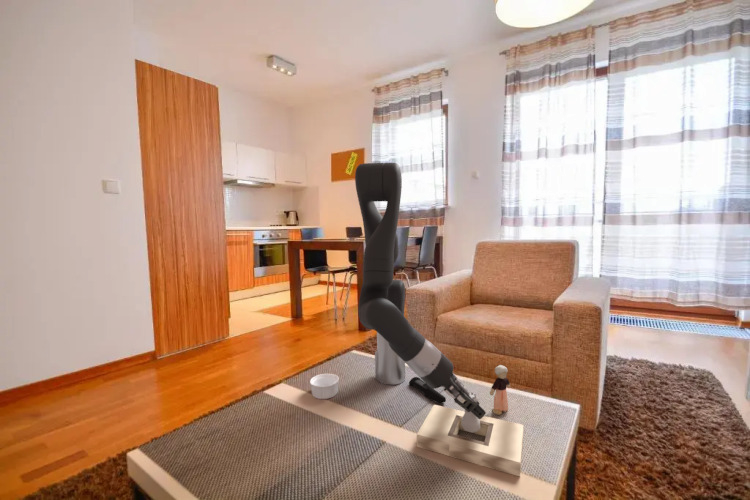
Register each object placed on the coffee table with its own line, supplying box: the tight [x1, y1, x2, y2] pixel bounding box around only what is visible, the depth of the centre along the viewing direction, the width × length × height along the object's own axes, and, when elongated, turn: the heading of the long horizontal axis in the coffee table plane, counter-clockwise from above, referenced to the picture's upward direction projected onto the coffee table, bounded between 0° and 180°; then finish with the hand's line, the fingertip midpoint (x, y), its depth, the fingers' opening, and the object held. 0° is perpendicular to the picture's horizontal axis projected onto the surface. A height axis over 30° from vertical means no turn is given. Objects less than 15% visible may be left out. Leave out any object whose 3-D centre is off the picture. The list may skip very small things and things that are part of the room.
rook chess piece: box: [461, 391, 481, 433], centre depth 78 cm, size 4×4×8 cm
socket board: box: [416, 404, 524, 477], centre depth 79 cm, size 22×14×3 cm, turn 64°
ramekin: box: [309, 373, 340, 400], centre depth 103 cm, size 9×9×4 cm
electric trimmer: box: [408, 376, 447, 404], centre depth 102 cm, size 4×16×3 cm, turn 28°
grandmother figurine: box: [489, 364, 512, 416], centre depth 92 cm, size 8×4×13 cm, turn 131°
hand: (479, 410), depth 79 cm, fingers closed on rook chess piece, 3 cm apart
